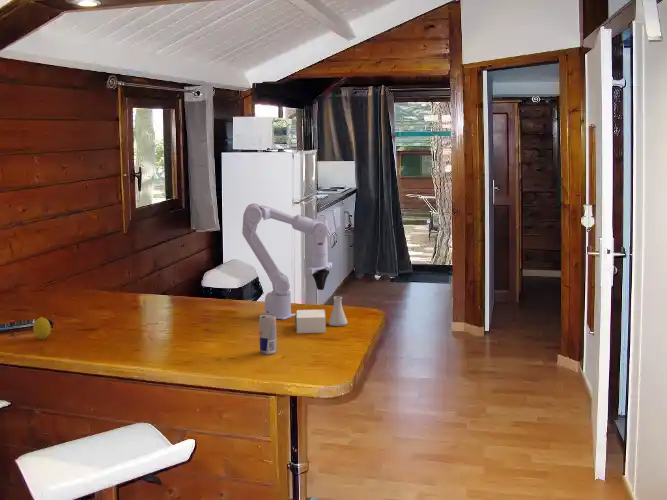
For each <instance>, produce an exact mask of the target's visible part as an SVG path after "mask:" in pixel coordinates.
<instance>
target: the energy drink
mask: <svg viewBox="0 0 667 500" xmlns="http://www.w3.org/2000/svg"><path fill="white" fill-rule="evenodd" d="M258 329H259V332H258V334H259V352H260V354H261V355H267V356H270V355H274V354H276V353H277V352H278V349H277V348H278V346H277V344H278V343H277V337H278V336H277V319H276V317H275V315H273V314H265V313H264V314H263V313H262V314H260V315H259V317H258Z"/></svg>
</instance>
